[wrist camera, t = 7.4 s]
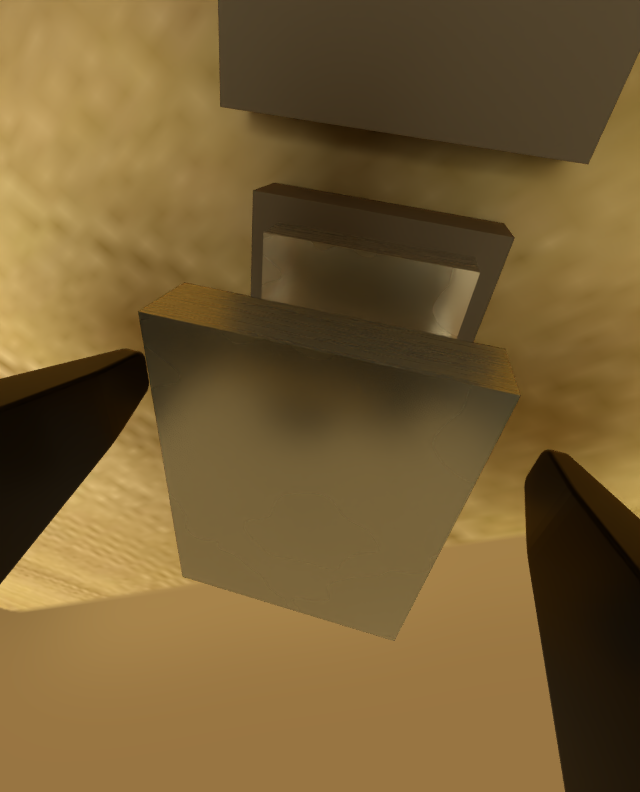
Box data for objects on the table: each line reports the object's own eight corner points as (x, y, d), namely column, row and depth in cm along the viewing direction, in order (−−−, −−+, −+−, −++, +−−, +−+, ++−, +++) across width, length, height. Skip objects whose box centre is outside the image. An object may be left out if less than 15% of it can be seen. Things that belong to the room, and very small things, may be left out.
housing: (475, 258, 9) (520, 395, 4) (407, 453, 12) (394, 641, 8) (279, 222, 9) (138, 311, 5) (269, 419, 13) (182, 576, 8)
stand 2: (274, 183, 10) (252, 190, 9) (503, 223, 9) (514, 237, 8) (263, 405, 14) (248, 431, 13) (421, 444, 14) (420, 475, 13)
